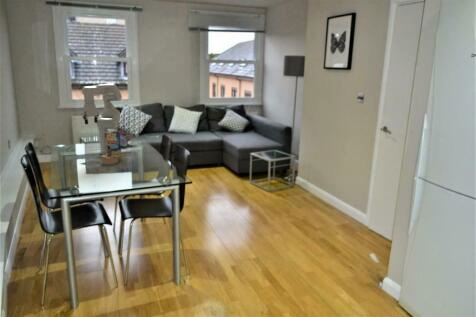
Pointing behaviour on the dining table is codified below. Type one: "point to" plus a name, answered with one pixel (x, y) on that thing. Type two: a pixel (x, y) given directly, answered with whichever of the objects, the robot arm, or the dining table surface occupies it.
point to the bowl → (110, 161)
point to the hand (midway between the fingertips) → (91, 123)
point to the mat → (91, 163)
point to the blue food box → (113, 143)
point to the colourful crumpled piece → (124, 138)
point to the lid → (109, 155)
